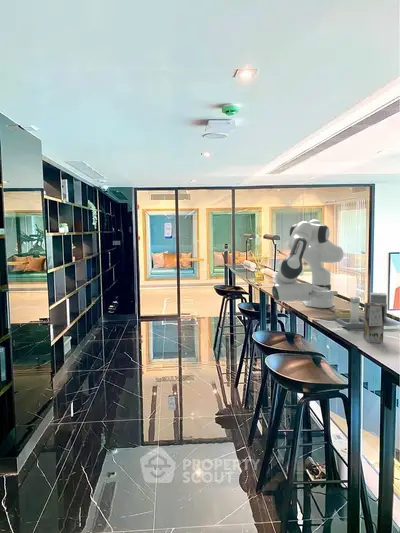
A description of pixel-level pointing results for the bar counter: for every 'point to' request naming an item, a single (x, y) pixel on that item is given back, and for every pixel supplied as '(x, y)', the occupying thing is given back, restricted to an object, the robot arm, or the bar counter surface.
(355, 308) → the cylinder
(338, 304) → the bar counter surface
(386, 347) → the bar counter surface
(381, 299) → the circuit breaker
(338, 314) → the block
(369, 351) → the bar counter surface
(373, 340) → the coffee box
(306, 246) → the robot arm
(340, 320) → the parts tray
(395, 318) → the bar counter surface
